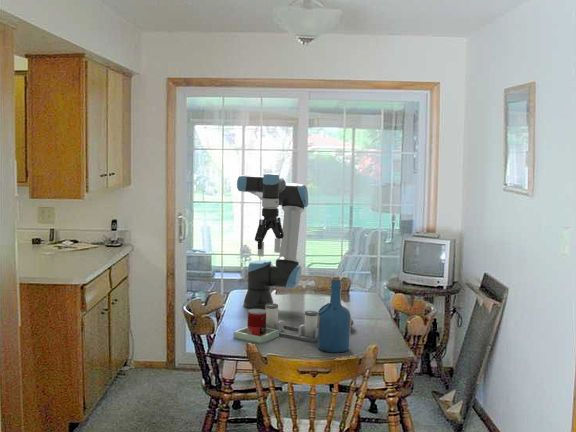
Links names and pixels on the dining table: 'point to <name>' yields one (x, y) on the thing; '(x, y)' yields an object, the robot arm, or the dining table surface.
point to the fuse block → (300, 330)
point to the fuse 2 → (310, 323)
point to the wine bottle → (334, 322)
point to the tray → (243, 335)
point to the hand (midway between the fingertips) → (269, 254)
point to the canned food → (256, 322)
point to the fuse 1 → (271, 316)
